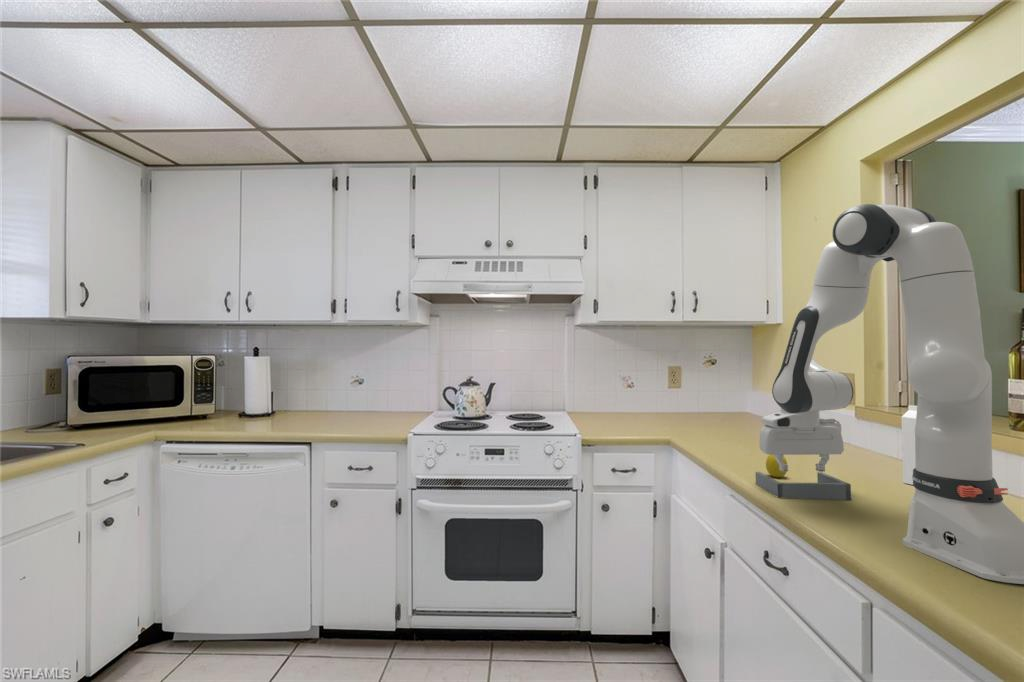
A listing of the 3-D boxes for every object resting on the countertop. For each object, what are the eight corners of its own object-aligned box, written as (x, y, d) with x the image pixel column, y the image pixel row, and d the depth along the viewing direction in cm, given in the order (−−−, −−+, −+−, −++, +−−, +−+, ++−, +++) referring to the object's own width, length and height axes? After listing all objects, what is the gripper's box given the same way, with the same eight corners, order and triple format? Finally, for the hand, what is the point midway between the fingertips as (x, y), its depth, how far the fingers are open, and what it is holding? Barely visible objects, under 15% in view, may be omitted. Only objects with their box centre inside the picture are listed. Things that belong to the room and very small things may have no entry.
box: (851, 500, 119) (850, 484, 119) (777, 499, 120) (777, 483, 120) (822, 486, 131) (821, 472, 131) (755, 486, 132) (755, 471, 132)
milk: (926, 488, 129) (924, 407, 129) (902, 482, 135) (900, 405, 135) (941, 486, 131) (939, 406, 131) (917, 480, 137) (915, 404, 137)
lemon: (790, 482, 136) (790, 454, 136) (769, 481, 137) (768, 453, 137) (784, 477, 141) (783, 450, 141) (763, 476, 142) (763, 449, 143)
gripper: (833, 417, 129) (835, 468, 128) (755, 417, 130) (757, 468, 130) (848, 420, 123) (850, 474, 122) (766, 420, 124) (768, 474, 123)
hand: (802, 471), depth 126 cm, fingers open, 8 cm apart
